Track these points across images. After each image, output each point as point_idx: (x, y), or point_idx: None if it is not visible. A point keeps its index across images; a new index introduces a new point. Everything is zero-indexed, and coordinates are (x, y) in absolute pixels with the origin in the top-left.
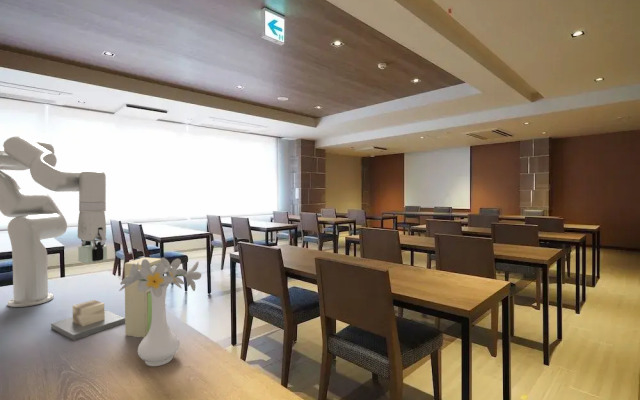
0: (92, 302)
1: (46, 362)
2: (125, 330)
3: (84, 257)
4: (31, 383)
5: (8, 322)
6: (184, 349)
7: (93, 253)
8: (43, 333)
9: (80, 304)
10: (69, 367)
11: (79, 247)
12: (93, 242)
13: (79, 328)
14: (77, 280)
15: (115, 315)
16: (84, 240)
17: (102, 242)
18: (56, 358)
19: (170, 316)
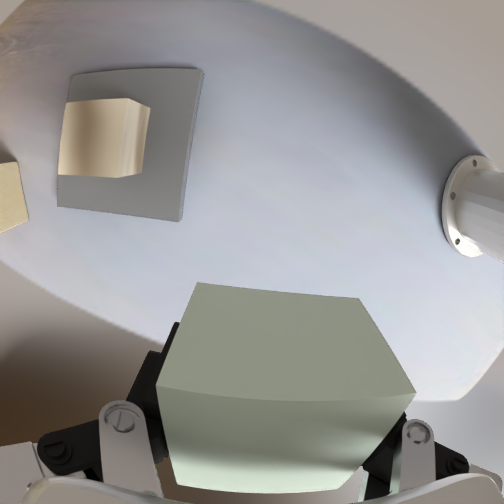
0: (96, 157)
1: (53, 24)
2: (10, 162)
3: (258, 316)
4: (30, 8)
5: (376, 64)
6: None
7: (155, 369)
8: (189, 49)
9: (112, 120)
10: (15, 49)
11: (389, 388)
12: (129, 482)
13: (91, 98)
14: (479, 348)
15: (90, 205)
16: (399, 486)
17: (20, 450)
18: (49, 37)
19: (32, 279)
